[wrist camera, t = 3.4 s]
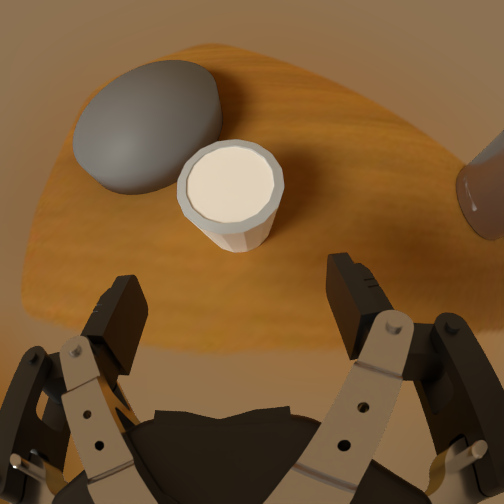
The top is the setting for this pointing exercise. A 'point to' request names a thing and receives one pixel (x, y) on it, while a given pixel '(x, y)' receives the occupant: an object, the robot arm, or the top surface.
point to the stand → (148, 126)
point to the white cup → (231, 193)
